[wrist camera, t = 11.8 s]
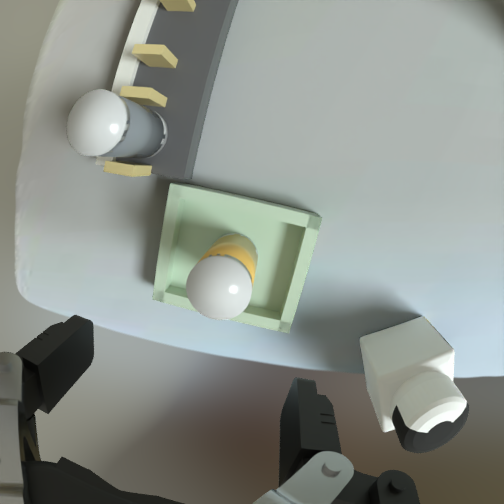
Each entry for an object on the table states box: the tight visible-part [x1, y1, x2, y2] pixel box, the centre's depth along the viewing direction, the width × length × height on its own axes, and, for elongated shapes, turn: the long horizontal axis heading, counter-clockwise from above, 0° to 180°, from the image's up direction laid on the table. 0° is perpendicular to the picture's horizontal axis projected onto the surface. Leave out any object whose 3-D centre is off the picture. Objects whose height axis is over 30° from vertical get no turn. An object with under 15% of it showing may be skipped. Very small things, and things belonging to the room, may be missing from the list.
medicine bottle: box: [359, 316, 469, 453], centre depth 23 cm, size 7×7×12 cm
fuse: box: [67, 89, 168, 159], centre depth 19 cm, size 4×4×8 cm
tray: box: [153, 182, 322, 333], centre depth 26 cm, size 12×10×2 cm
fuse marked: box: [186, 233, 258, 320], centre depth 23 cm, size 4×4×8 cm
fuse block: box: [96, 0, 238, 179], centre depth 20 cm, size 8×24×6 cm, turn 167°
